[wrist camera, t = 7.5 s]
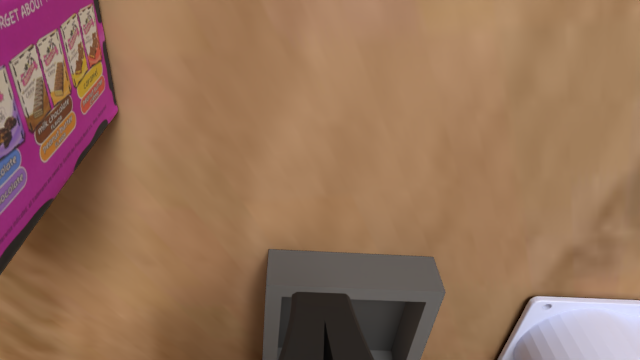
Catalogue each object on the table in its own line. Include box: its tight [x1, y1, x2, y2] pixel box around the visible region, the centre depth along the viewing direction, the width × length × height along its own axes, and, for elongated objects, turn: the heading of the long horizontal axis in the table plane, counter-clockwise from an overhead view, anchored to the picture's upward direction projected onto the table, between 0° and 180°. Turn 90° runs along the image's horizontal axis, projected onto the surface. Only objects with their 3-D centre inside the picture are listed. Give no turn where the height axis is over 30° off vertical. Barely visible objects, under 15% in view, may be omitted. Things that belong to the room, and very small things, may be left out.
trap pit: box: [262, 249, 445, 360], centre depth 26 cm, size 9×9×2 cm
